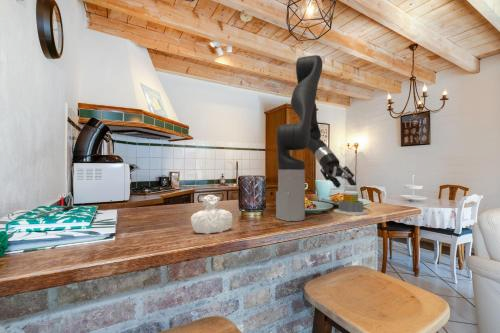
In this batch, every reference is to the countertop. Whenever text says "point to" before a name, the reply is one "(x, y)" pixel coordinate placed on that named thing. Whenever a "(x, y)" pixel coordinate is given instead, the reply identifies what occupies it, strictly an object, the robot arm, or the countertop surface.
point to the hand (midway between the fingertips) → (346, 186)
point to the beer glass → (350, 194)
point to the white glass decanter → (211, 217)
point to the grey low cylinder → (351, 208)
